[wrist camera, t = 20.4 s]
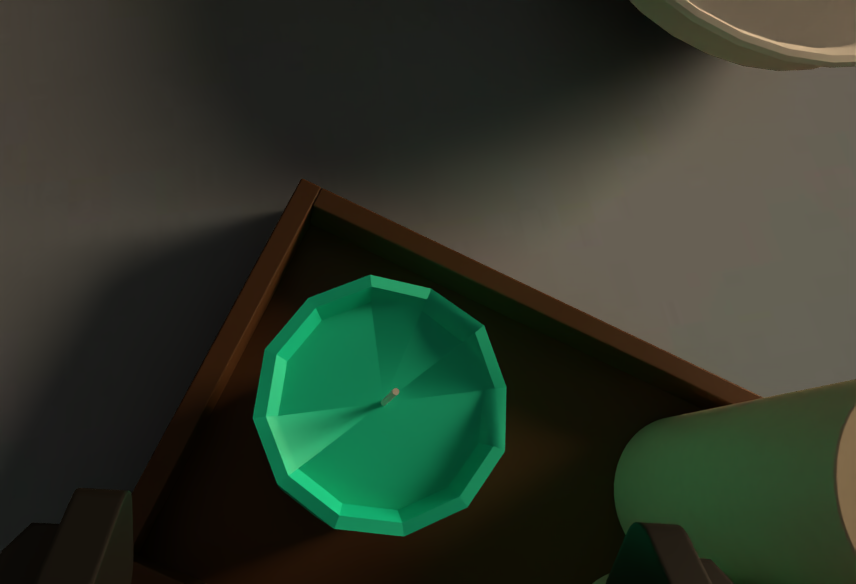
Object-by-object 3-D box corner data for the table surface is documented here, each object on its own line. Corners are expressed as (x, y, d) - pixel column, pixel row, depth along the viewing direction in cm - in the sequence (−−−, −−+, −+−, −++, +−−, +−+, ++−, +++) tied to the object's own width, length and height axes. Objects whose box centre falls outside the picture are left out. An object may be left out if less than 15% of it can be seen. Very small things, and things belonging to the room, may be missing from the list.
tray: (109, 565, 25) (88, 573, 23) (300, 205, 30) (301, 177, 27) (773, 854, 27) (827, 894, 24) (859, 470, 31) (912, 467, 29)
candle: (393, 548, 26) (477, 588, 15) (234, 483, 26) (196, 472, 14) (453, 391, 28) (568, 320, 17) (306, 328, 28) (322, 211, 16)
